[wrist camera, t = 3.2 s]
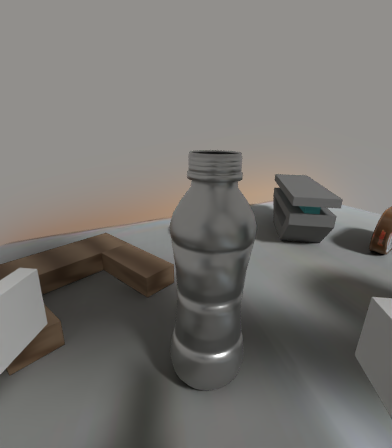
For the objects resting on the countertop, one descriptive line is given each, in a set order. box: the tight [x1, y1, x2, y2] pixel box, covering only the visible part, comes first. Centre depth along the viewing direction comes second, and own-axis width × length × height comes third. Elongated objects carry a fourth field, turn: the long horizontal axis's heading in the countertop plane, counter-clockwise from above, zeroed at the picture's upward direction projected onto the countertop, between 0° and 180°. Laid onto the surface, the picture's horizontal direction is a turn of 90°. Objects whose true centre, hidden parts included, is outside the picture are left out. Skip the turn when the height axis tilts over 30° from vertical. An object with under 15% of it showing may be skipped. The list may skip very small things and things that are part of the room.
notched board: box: [0, 233, 174, 375], centre depth 36 cm, size 21×18×3 cm
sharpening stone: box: [274, 174, 342, 243], centre depth 58 cm, size 25×8×11 cm, turn 171°
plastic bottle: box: [170, 150, 257, 391], centre depth 22 cm, size 6×7×20 cm
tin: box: [369, 207, 392, 254], centre depth 51 cm, size 15×3×8 cm, turn 132°
